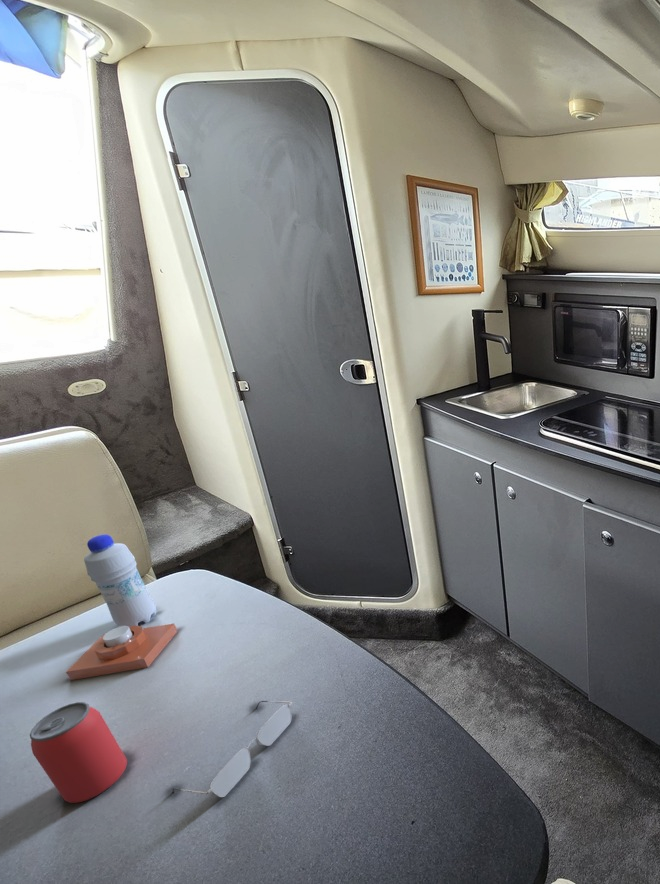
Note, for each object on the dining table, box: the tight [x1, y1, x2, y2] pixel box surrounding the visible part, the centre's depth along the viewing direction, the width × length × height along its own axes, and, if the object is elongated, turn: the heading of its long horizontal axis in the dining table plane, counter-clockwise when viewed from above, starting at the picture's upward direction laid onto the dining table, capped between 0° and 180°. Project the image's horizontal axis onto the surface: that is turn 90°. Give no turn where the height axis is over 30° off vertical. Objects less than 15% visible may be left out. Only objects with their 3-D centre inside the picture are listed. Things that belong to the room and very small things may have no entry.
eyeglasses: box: [172, 700, 293, 798], centre depth 72 cm, size 14×8×4 cm, turn 167°
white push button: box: [103, 626, 133, 647], centre depth 89 cm, size 4×4×2 cm
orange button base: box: [65, 623, 178, 681], centre depth 90 cm, size 12×9×4 cm
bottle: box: [83, 534, 157, 627], centre depth 96 cm, size 7×7×20 cm
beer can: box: [29, 701, 128, 804], centre depth 67 cm, size 7×7×12 cm
